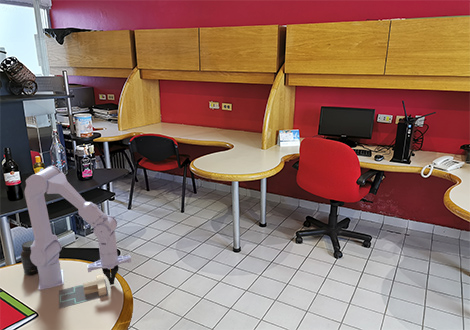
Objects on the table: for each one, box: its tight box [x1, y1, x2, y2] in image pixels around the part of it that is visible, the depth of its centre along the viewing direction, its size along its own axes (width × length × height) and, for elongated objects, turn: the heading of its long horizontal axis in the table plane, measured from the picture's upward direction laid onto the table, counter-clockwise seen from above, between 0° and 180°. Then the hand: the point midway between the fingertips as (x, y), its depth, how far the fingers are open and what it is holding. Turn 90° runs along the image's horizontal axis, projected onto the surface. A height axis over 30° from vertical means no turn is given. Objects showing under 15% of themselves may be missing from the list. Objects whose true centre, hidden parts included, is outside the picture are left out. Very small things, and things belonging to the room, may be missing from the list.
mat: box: [58, 278, 109, 310], centre depth 122 cm, size 10×16×1 cm, turn 116°
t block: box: [82, 273, 107, 296], centre depth 123 cm, size 8×7×3 cm
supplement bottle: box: [20, 240, 39, 277], centre depth 132 cm, size 7×7×12 cm
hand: (111, 283), depth 126 cm, fingers closed
